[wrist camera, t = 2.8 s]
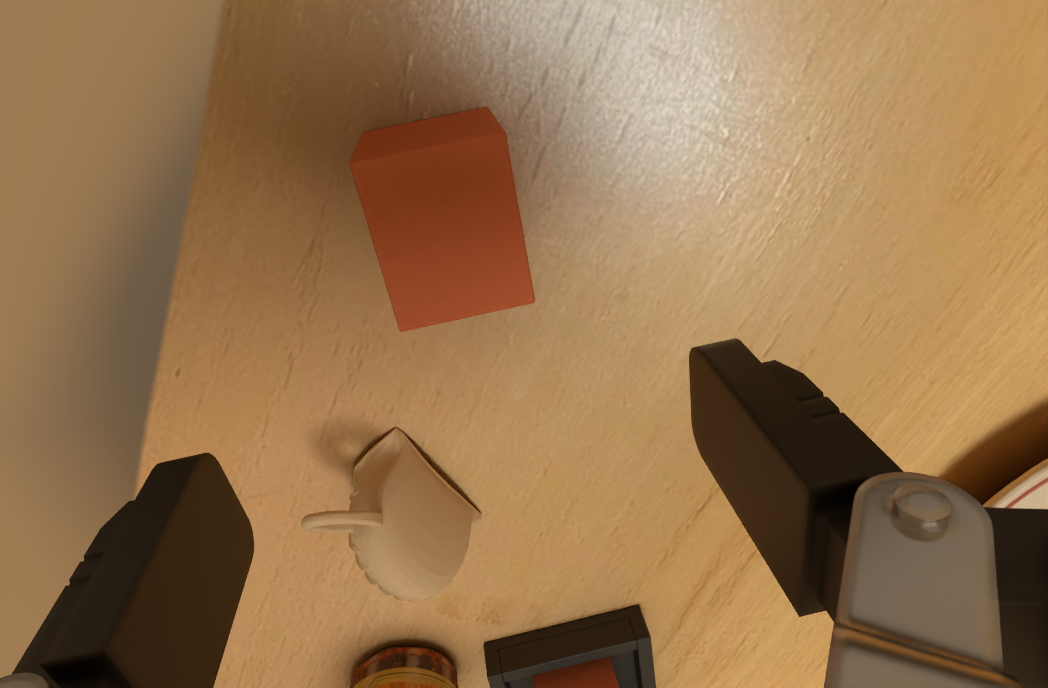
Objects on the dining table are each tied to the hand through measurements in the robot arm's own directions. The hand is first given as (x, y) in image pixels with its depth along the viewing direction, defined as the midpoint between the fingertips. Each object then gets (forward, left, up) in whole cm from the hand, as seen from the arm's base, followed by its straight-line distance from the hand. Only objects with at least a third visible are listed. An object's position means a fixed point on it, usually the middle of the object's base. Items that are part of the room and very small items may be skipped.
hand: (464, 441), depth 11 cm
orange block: (0, 0, -15) cm, 15 cm away
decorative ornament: (-5, -13, -15) cm, 20 cm away
